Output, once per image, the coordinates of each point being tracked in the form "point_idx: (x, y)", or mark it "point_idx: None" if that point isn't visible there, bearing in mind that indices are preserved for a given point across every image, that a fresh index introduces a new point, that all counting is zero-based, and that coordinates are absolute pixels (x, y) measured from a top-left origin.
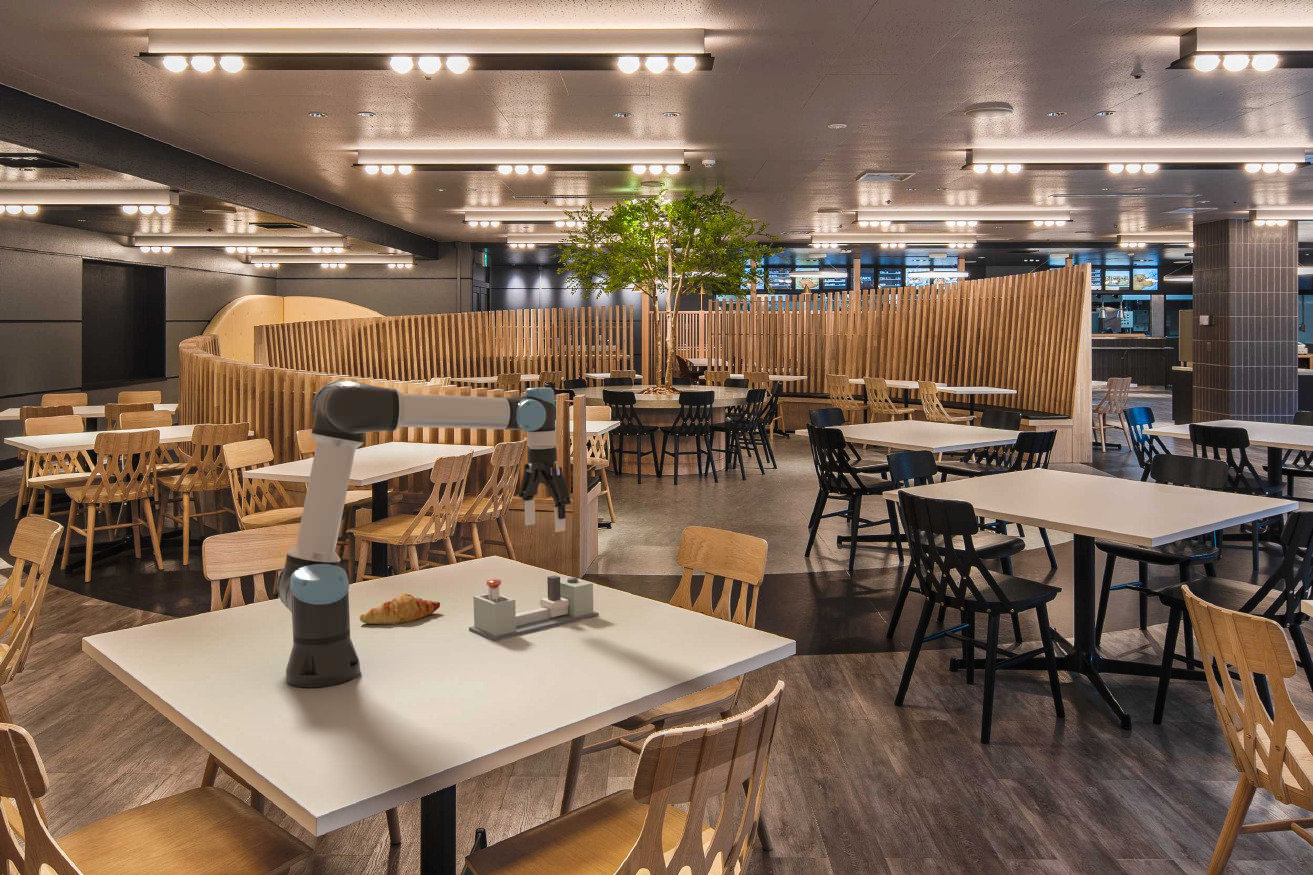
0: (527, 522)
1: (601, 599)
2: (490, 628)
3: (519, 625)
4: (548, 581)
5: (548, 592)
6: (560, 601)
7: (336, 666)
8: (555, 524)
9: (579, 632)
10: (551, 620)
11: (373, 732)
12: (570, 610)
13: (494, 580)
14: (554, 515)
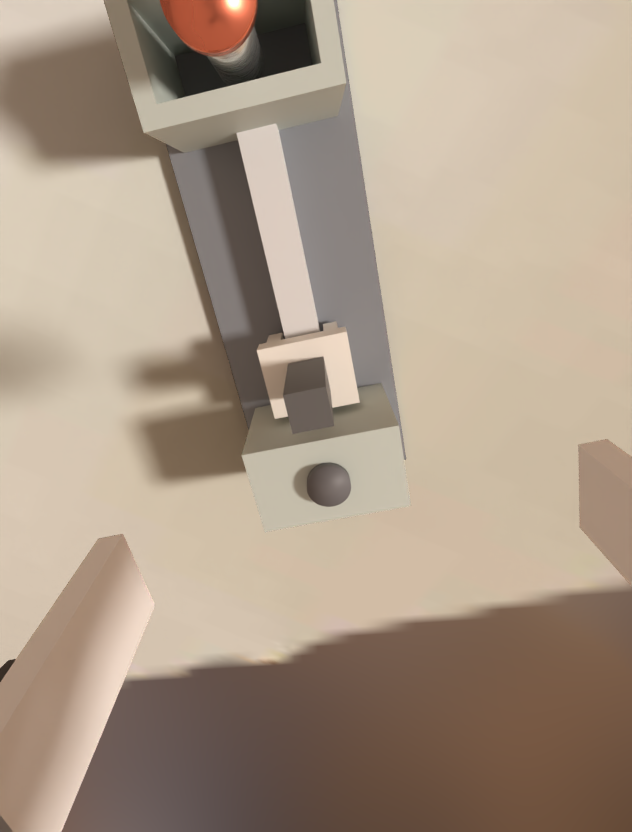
0: (592, 463)
1: (425, 553)
2: None
3: (250, 195)
4: (316, 381)
5: (318, 366)
6: (268, 385)
7: None
8: (83, 582)
9: (120, 363)
10: (255, 326)
11: None
12: None
13: (218, 2)
14: (46, 657)
